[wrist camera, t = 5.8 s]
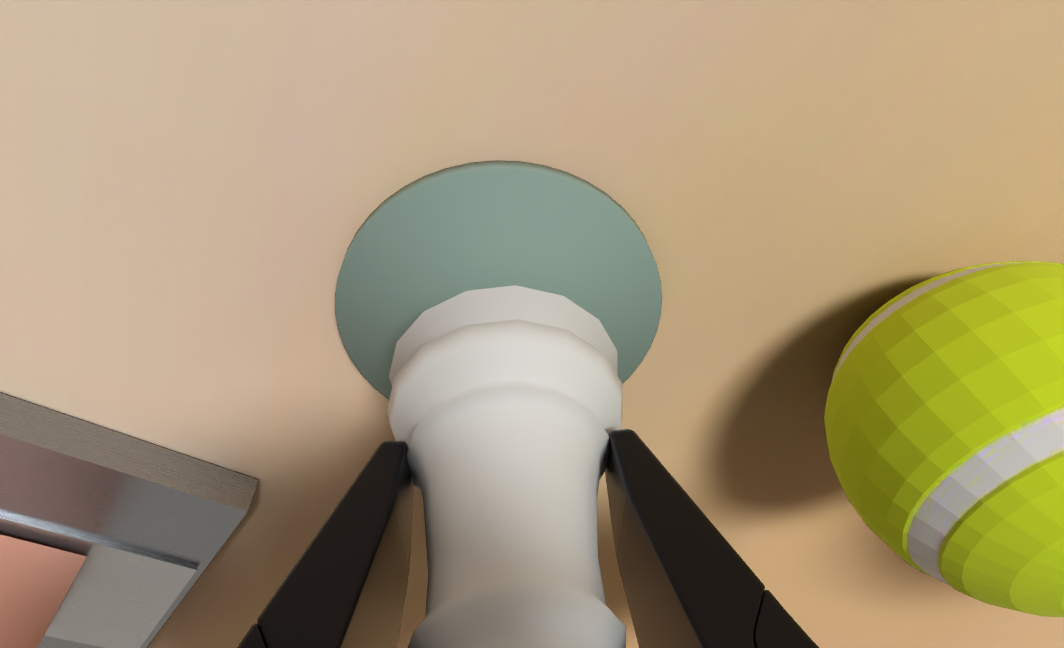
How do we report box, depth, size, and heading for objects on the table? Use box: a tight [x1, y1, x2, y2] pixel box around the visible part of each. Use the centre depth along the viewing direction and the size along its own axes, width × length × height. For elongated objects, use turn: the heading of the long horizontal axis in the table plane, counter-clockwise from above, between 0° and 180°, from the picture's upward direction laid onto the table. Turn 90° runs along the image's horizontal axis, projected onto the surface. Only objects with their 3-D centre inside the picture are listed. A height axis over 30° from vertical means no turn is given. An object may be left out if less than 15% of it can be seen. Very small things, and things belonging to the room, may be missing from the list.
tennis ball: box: [824, 261, 1064, 617], centre depth 12 cm, size 7×7×7 cm
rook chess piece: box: [387, 285, 626, 648], centre depth 9 cm, size 4×4×8 cm
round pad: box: [335, 161, 662, 399], centre depth 13 cm, size 7×7×1 cm
